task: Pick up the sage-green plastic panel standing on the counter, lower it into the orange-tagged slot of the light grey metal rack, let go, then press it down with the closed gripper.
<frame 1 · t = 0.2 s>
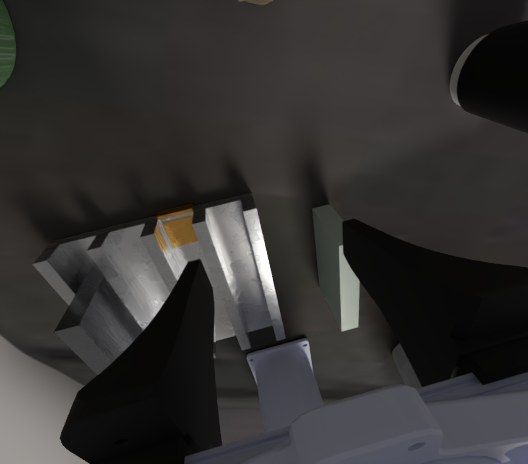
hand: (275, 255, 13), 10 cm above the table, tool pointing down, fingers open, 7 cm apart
dixie cup: (477, 72, 20), on the table
rack: (187, 285, 26), on the table
house plant: (415, 342, 39), on the table
panel: (323, 249, 27), on the table
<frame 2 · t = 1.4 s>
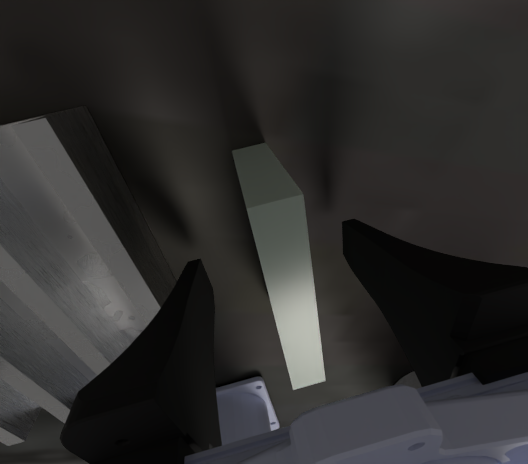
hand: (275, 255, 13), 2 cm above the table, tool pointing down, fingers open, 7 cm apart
rack: (18, 300, 14), on the table
panel: (267, 234, 15), on the table
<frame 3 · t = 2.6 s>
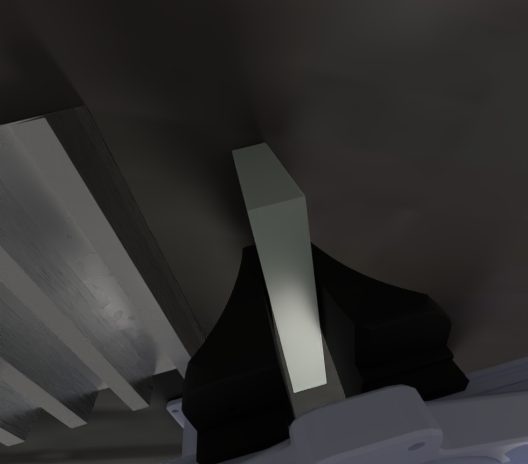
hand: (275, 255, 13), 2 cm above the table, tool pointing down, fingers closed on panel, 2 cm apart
rack: (17, 300, 14), on the table
panel: (268, 235, 15), on the table, touching gripper
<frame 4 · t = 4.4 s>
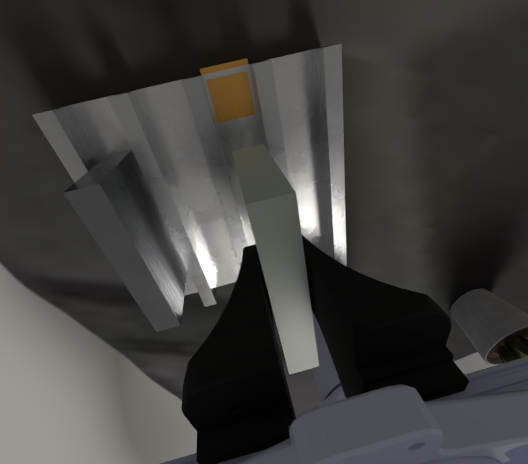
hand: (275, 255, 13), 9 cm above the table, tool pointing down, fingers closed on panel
rack: (228, 194, 20), on the table
house plant: (478, 296, 34), on the table
panel: (265, 230, 16), point 6 cm above the table, touching gripper
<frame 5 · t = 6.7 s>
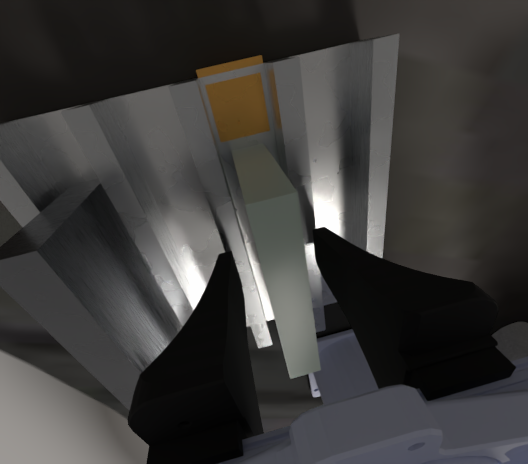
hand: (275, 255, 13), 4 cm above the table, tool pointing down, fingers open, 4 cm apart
rack: (232, 227, 16), on the table
house plant: (516, 329, 30), on the table
panel: (266, 231, 16), point 1 cm above the table, touching rack
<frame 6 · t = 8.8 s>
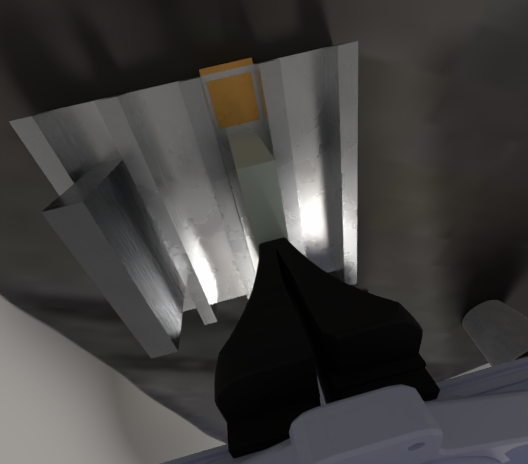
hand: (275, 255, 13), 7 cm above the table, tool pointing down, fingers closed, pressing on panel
rack: (229, 204, 19), on the table
house plant: (491, 307, 32), on the table
panel: (257, 207, 18), point 1 cm above the table, touching gripper, rack
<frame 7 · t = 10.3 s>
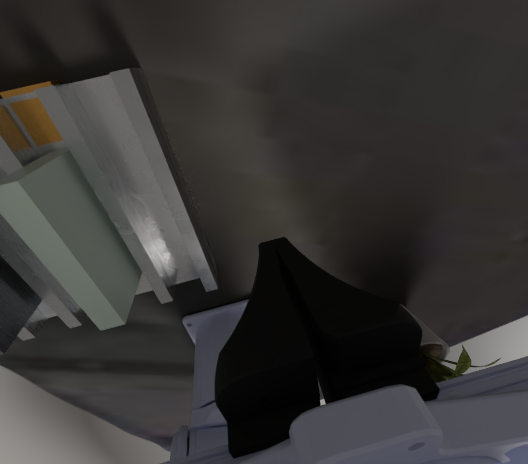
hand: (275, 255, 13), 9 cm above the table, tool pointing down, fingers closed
rack: (81, 214, 20), on the table
house plant: (394, 309, 33), on the table
panel: (103, 217, 19), point 1 cm above the table, touching rack
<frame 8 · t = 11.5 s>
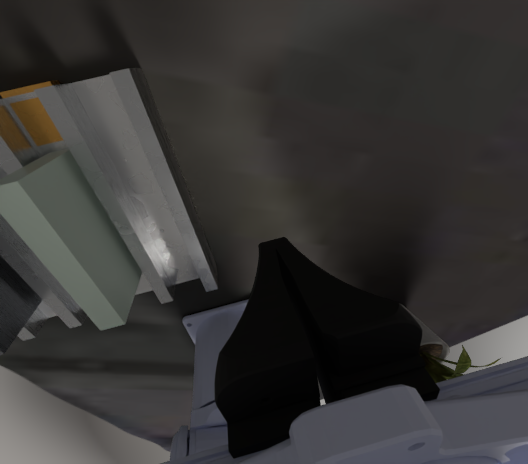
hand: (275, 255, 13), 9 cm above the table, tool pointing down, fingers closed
rack: (81, 214, 20), on the table
house plant: (394, 309, 33), on the table
panel: (103, 217, 19), point 1 cm above the table, touching rack
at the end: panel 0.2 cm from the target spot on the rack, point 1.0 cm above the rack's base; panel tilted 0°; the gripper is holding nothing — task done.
